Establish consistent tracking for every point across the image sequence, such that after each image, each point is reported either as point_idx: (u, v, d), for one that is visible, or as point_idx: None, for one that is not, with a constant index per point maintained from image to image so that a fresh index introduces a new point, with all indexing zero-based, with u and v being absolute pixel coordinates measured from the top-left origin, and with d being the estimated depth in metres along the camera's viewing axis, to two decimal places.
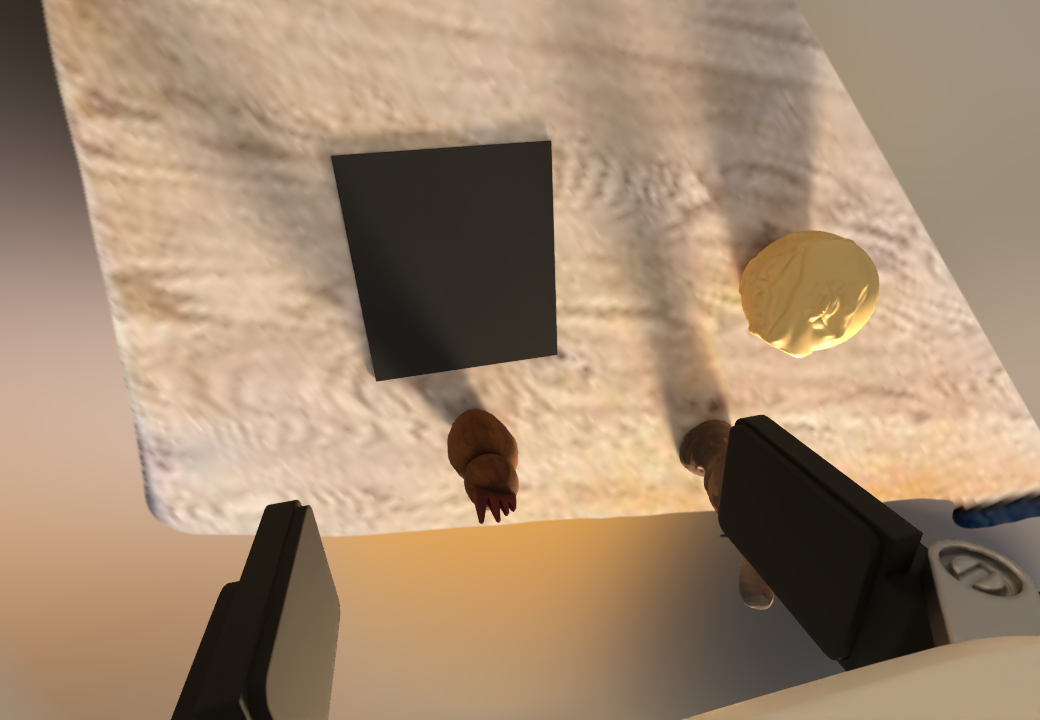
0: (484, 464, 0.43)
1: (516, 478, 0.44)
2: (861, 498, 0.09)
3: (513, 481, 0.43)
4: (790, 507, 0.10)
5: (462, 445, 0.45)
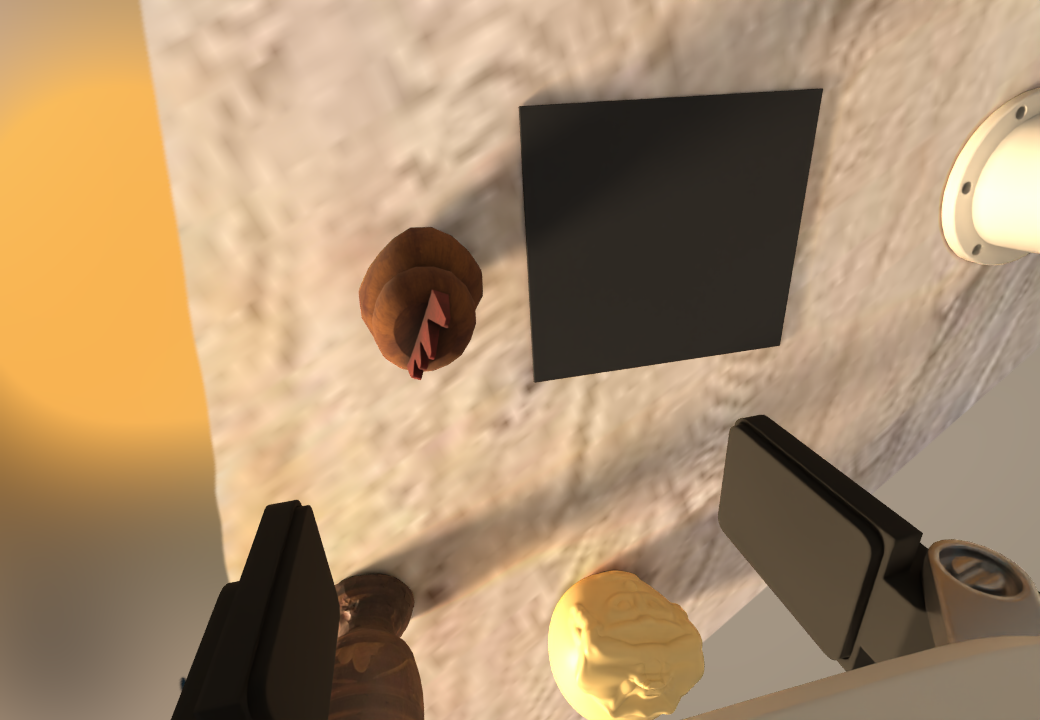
0: (474, 306, 0.23)
1: None
2: (861, 498, 0.09)
3: (446, 363, 0.23)
4: (790, 507, 0.10)
5: (464, 259, 0.26)
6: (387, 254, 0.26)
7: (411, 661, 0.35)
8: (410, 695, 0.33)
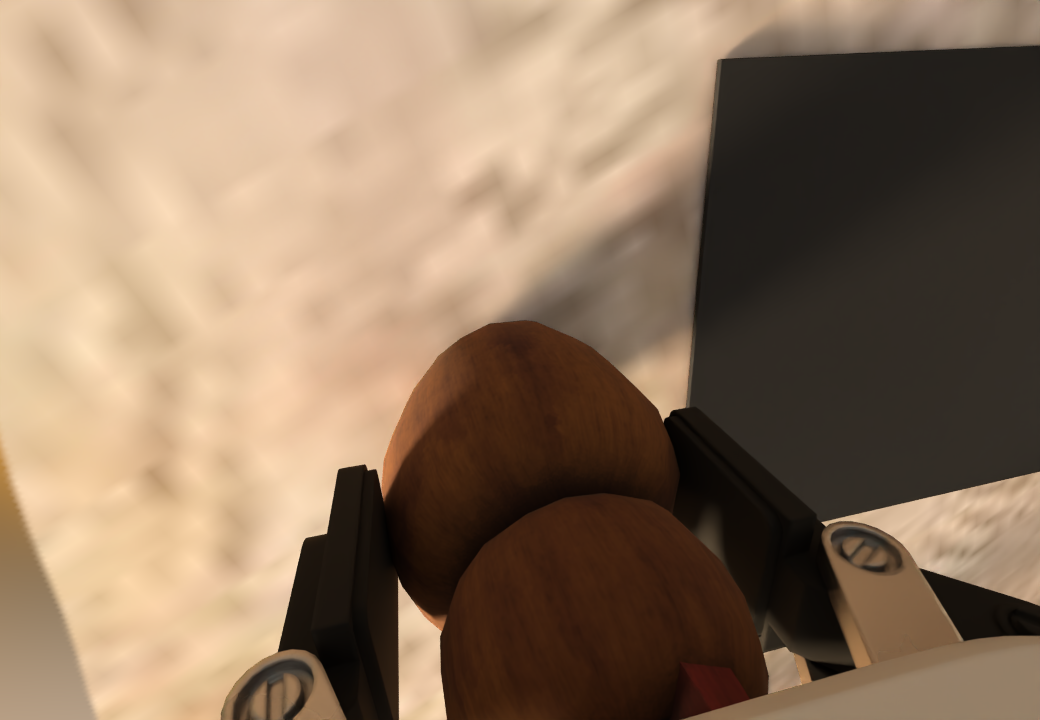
0: None
1: None
2: (768, 483, 0.09)
3: None
4: (710, 493, 0.10)
5: (658, 433, 0.10)
6: (460, 421, 0.10)
7: None
8: None
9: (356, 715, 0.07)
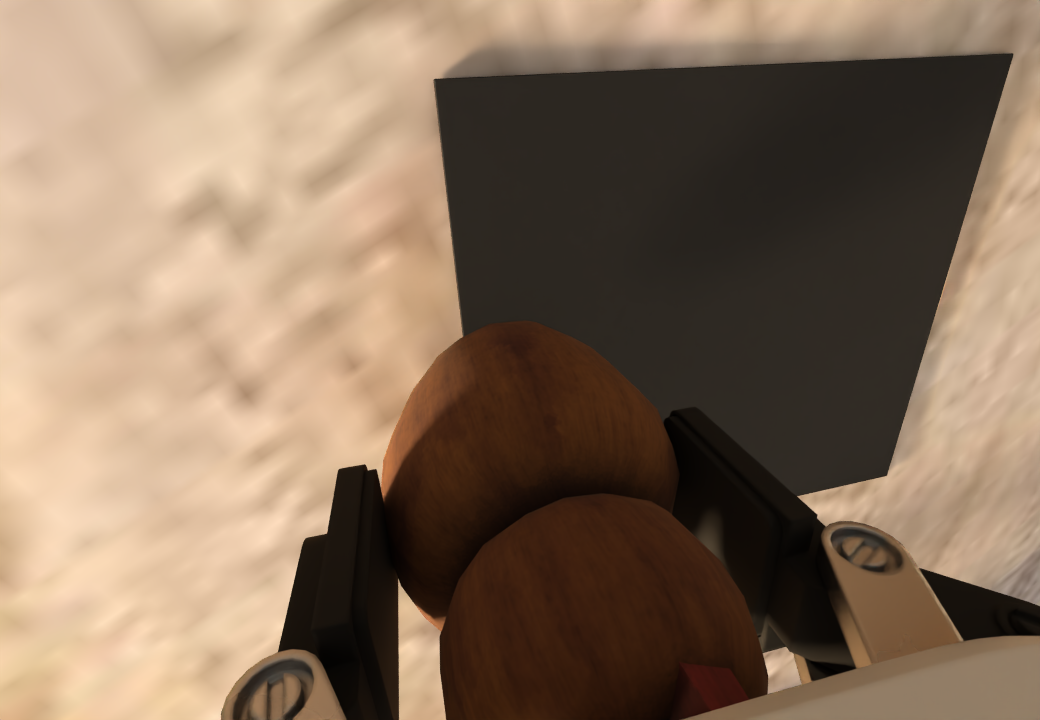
0: None
1: None
2: (768, 483, 0.09)
3: None
4: (710, 493, 0.10)
5: (659, 433, 0.10)
6: (460, 421, 0.10)
7: None
8: None
9: (356, 715, 0.07)
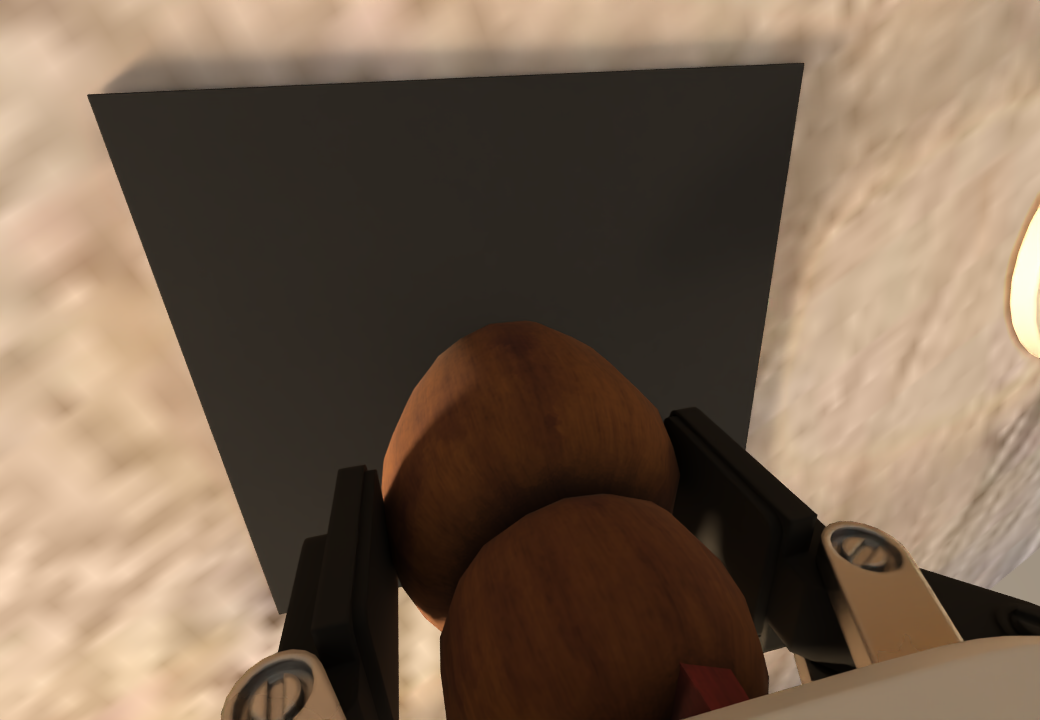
0: None
1: None
2: (768, 483, 0.09)
3: None
4: (710, 493, 0.10)
5: (659, 433, 0.10)
6: (460, 422, 0.10)
7: None
8: None
9: (356, 715, 0.07)
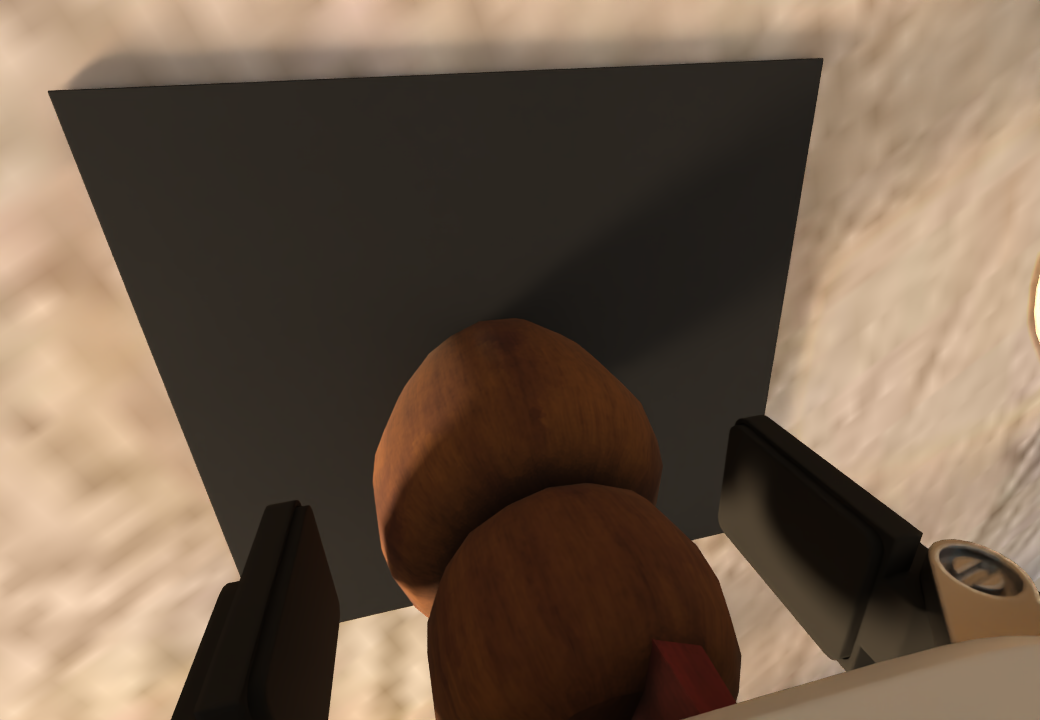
0: None
1: None
2: (861, 498, 0.09)
3: None
4: (790, 507, 0.10)
5: (641, 426, 0.10)
6: (448, 415, 0.10)
7: None
8: None
9: None
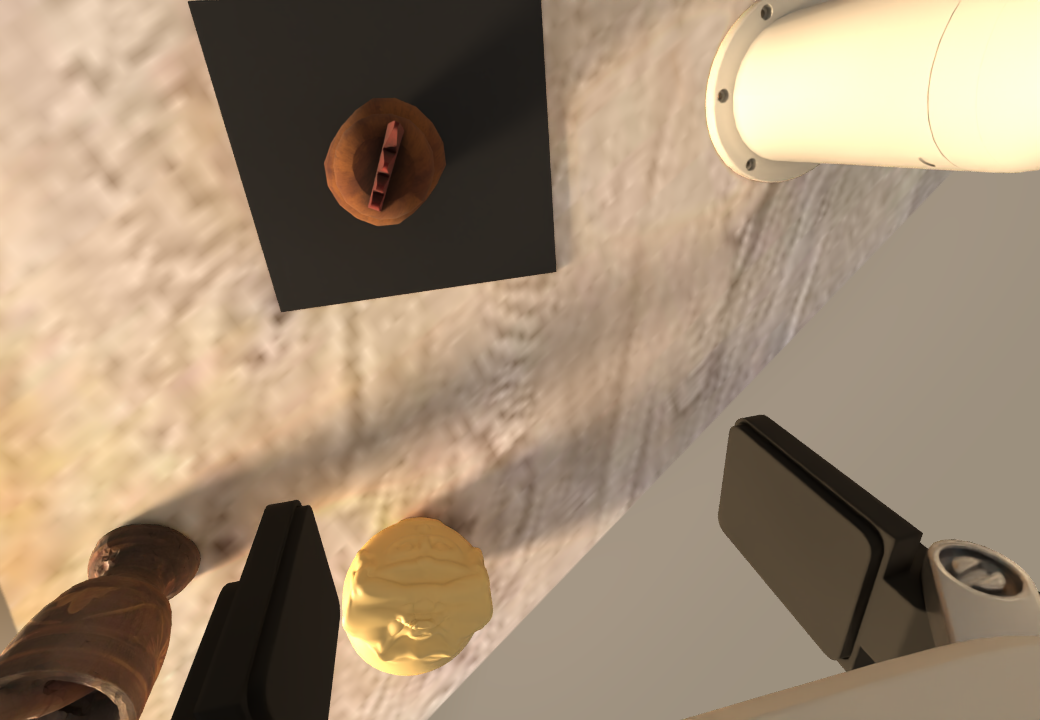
0: (432, 152, 0.24)
1: (403, 213, 0.25)
2: (861, 498, 0.09)
3: (407, 207, 0.24)
4: (790, 507, 0.10)
5: (424, 121, 0.26)
6: (349, 117, 0.26)
7: (152, 606, 0.34)
8: (129, 636, 0.31)
9: None
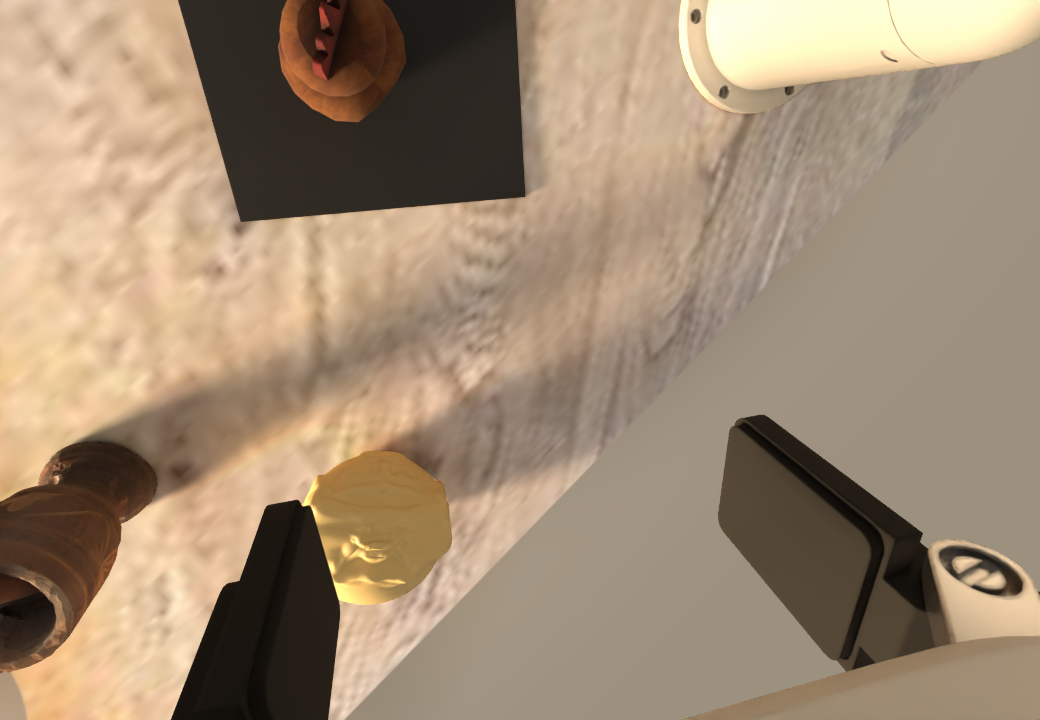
0: (383, 23, 0.24)
1: (352, 88, 0.24)
2: (861, 498, 0.09)
3: (355, 78, 0.23)
4: (790, 507, 0.10)
5: (380, 3, 0.26)
6: None
7: (98, 515, 0.33)
8: (70, 538, 0.30)
9: None
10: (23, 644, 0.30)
